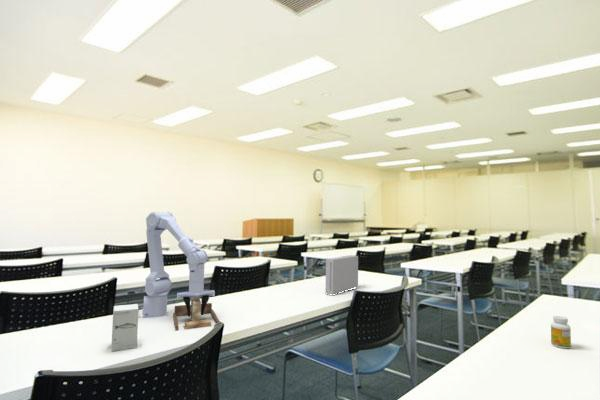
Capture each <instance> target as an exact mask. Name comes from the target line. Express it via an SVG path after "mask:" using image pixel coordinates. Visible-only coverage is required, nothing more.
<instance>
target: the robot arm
mask: <svg viewBox="0 0 600 400" xmlns="http://www.w3.org/2000/svg"><path fill="white" fill-rule="evenodd" d="M145 223H146V231H145V233H146V240H147V241H146V242H147V251H148V261H149V270H150V273H149V274H148V276H147V277H146V278H145V284H144V285H145V286H144V292H145V293H146V295H144V296H143V309H142V313H141V314H142V318H143V319H148V318H158V317H167V316H168V314H169V313H168V295H169V292H170V291H171V290H172V287H173V283H172V280H171V279H170V274H169V273H168V272H166V271H165V267H164V265H165V263H164V256H163V255H164V254H163V247H162V245H163V244H162V238H161V235H162V234H163V232H165V231H166V230H167V231H168V232H169V233H170V234H171V235H172V236H173V237H174V238H175V239H176V240H177V242H178V244H177V245H178V247H179V249H180V251H182V253H183V254H184V255H185V256H186V263H187V265H188V270H189V275H188V277H189V280H188V291H182V292H177V293H176V299H177V300H179V299H183V302H184V305H186V307H187V312H188V316H187V317H191V315H190V305H191V298H201V299H200V301H201V316H204V314H203V313H204V309H205V306H206V304H207V303H209V299H210V297H215V296H216V295H215V294H216V292H215V290H214V289H211V290H208V289H207V290H205V289H204V288H205V287H204V285H205V264H206V263H207V262H208V258H209V257H208V254H207V251H205V250H203V249H201V248H200V247H199V246H198V245H197V244H196V243H195V242H194V239H193V238H192V237H190V236H186V235H185V233H184V231H182V228H180V226H179V224H178V223H177V220H176V217H175V216H174V215H173V213H172V212H157V211H156V212H155V211H151V212H150V213H149V214H148V215H147V217H145Z"/></svg>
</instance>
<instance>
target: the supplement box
mask: <svg viewBox="0 0 600 400" xmlns="http://www.w3.org/2000/svg"><path fill="white" fill-rule="evenodd" d="M112 311H113V312H112V328H111V329H112V331H111V352H114V351H115V352H116V351H121V350H129V349H136V348H137V347H138V332H139V331H138V328H139V327H138V325H139V303H133V304H121V305H120V304H119V305H114V306H113V310H112Z"/></svg>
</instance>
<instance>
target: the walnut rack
mask: <svg viewBox="0 0 600 400" xmlns="http://www.w3.org/2000/svg"><path fill="white" fill-rule="evenodd" d="M212 308H213V303H212V302H207V304H206V306H205V309H204V313H203V315H206V314H207V315H208V314H210V316H211V317H212V320H213V321H214V323H215V324H216V323H218V322H220V323H221V321H220V319H219V318H218V316H217V314H216V312H215V311H214V309H212ZM186 316H187V317H189V316H188V312H187V307H186V304H184V305H174V312H173V315H172V317H173V322H174V323H173V324H174V330H175V331H179V321H178V317H186ZM190 316H191V304H190Z"/></svg>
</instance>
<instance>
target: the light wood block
mask: <svg viewBox="0 0 600 400" xmlns="http://www.w3.org/2000/svg"><path fill="white" fill-rule="evenodd" d="M190 305H191V315H190V322H192V321H200V320H201V318H202V317H201V316H202V315H201V299H200V297H190Z"/></svg>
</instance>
